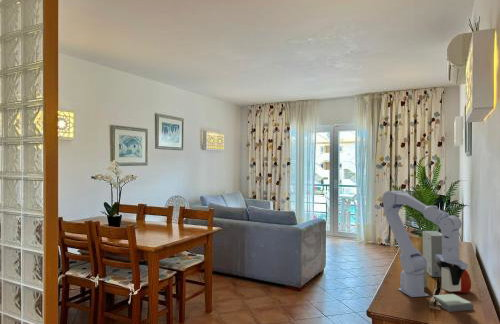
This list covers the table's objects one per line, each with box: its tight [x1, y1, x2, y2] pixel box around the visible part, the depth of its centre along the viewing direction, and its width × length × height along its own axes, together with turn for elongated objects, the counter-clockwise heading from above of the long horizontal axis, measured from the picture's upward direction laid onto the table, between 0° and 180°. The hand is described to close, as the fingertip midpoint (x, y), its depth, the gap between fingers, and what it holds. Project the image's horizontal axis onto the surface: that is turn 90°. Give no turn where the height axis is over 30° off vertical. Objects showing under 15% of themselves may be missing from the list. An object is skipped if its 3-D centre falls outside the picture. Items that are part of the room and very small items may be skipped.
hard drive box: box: [422, 230, 442, 278], centre depth 175 cm, size 16×8×20 cm, turn 168°
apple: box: [452, 269, 472, 294], centre depth 150 cm, size 11×11×11 cm
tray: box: [430, 293, 474, 313], centre depth 134 cm, size 10×10×2 cm
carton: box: [441, 267, 461, 292], centre depth 134 cm, size 4×5×8 cm
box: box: [424, 267, 428, 288], centre depth 156 cm, size 5×4×11 cm
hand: (451, 282), depth 134 cm, fingers closed on carton, 4 cm apart
